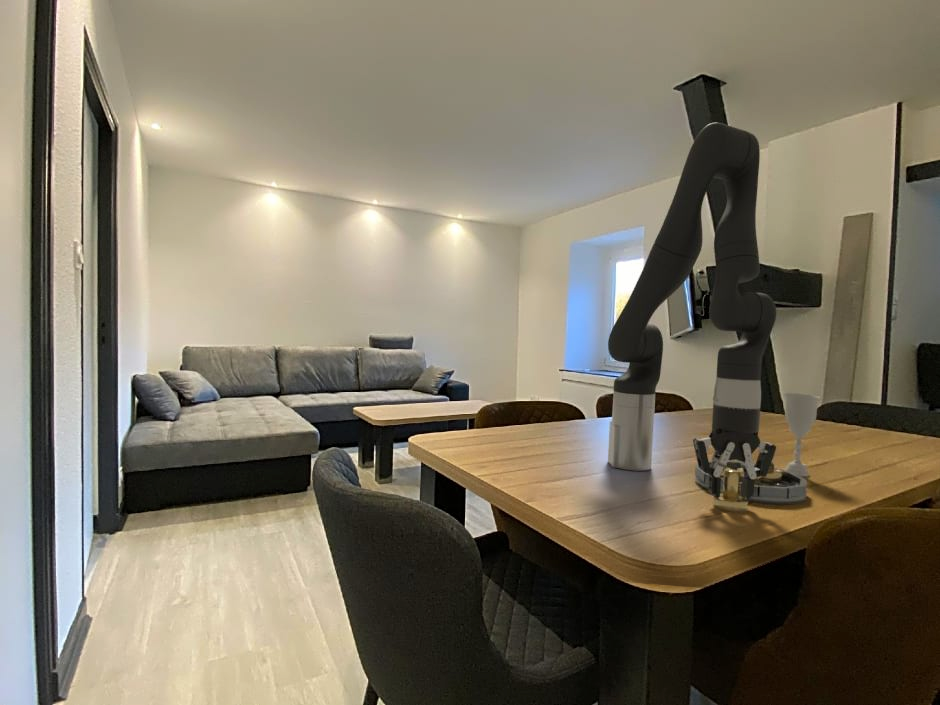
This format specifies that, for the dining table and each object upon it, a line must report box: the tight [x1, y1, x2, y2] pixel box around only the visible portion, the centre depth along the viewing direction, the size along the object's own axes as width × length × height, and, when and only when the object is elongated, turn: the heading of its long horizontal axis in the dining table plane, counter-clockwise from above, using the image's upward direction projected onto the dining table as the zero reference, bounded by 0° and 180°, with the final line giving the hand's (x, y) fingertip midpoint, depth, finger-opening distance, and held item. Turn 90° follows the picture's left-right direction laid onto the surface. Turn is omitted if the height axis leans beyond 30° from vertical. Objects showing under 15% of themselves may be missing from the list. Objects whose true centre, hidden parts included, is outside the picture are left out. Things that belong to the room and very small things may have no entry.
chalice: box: [783, 393, 821, 477], centre depth 116 cm, size 7×7×18 cm
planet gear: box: [712, 469, 749, 513], centre depth 92 cm, size 6×6×7 cm
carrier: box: [694, 448, 808, 505], centre depth 104 cm, size 20×20×8 cm
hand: (730, 496), depth 92 cm, fingers open, 4 cm apart
